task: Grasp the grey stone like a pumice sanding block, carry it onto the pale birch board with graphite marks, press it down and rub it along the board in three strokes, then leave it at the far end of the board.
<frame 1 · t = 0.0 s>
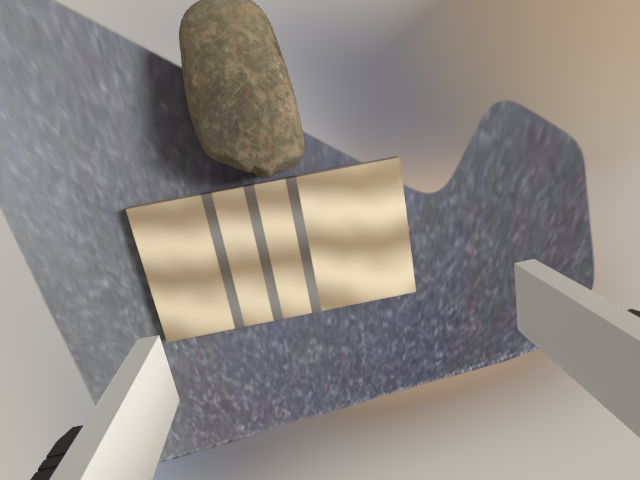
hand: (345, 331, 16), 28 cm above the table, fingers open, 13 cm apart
stone: (244, 93, 40), on the table
board: (279, 249, 44), on the table
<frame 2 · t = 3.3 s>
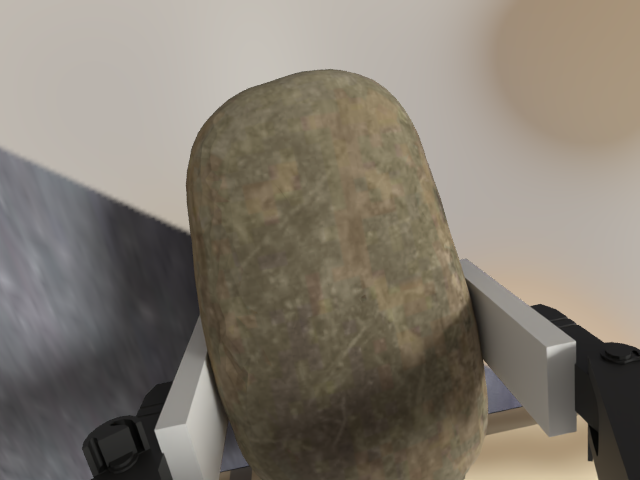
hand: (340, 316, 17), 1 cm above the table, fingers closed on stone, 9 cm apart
stone: (330, 270, 18), on the table, touching gripper
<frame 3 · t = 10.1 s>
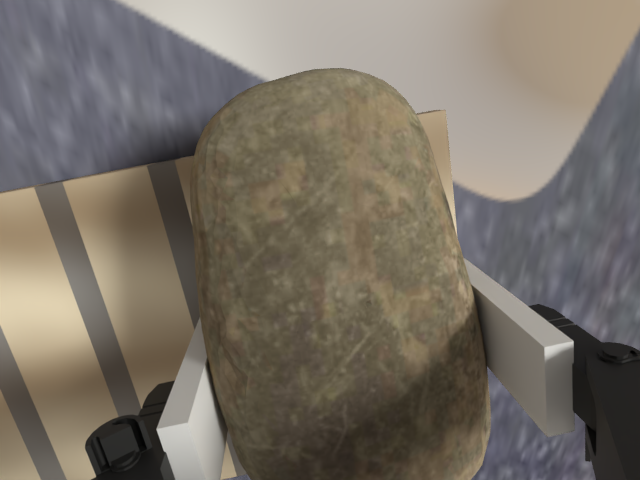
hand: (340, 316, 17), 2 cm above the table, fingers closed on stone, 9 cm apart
stone: (332, 273, 18), point 1 cm above the table, touching gripper
board: (155, 334, 19), on the table
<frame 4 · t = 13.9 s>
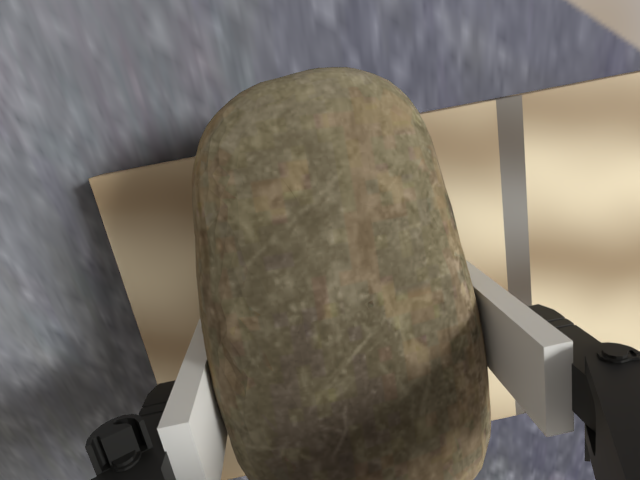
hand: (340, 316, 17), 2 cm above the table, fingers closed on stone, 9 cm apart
stone: (333, 274, 17), point 1 cm above the table, touching gripper
board: (449, 274, 19), on the table
when the fingers open (2 cm above the table, at t = 17.1 s): stone stays where it is, resting on board.
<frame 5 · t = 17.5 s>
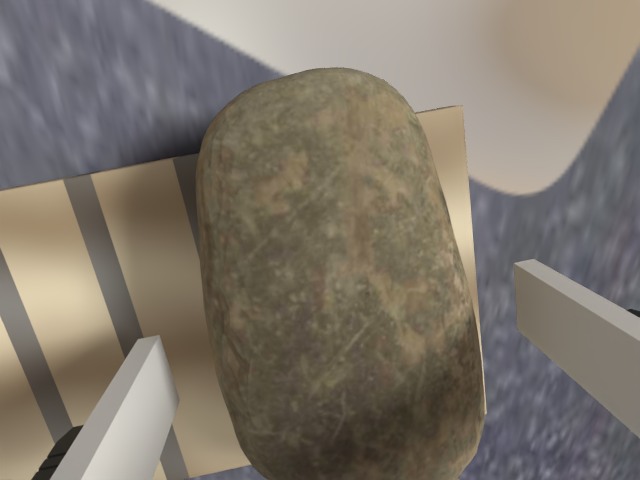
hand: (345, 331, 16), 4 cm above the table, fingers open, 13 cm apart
stone: (332, 268, 18), point 1 cm above the table, touching board
board: (176, 324, 19), on the table
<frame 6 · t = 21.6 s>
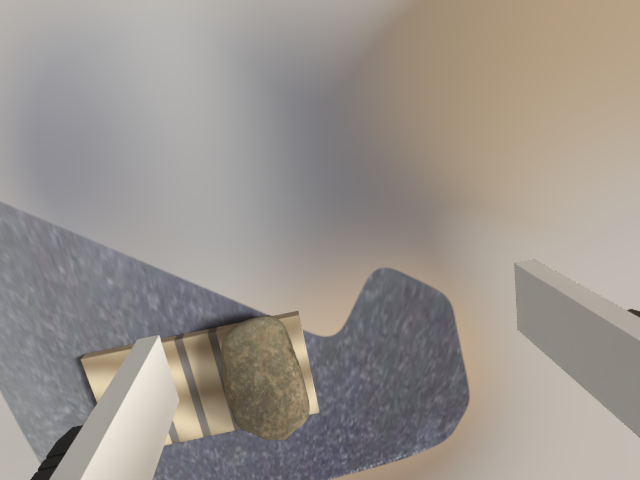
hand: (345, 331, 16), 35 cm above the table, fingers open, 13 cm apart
stone: (265, 362, 54), point 1 cm above the table, touching board
board: (206, 381, 55), on the table
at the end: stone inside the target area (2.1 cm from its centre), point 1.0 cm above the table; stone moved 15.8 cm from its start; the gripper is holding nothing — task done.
